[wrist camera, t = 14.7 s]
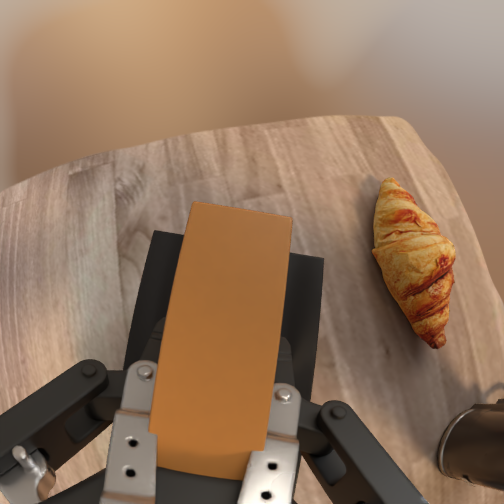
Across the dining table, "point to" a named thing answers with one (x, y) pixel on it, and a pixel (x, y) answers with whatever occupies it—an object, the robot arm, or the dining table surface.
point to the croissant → (414, 261)
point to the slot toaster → (294, 313)
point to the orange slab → (221, 341)
